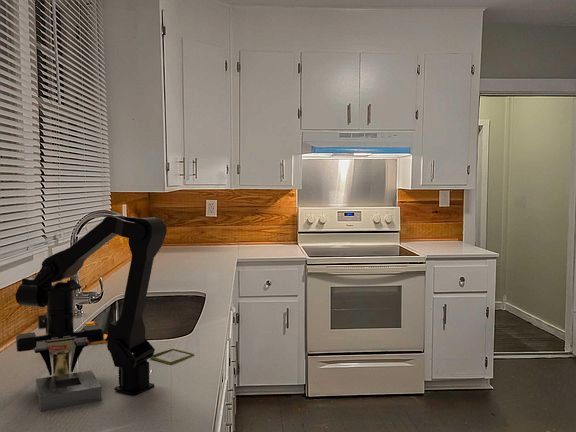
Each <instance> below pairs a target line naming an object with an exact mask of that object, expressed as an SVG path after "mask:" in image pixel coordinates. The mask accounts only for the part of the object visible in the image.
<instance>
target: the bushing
mask: <svg viewBox="0 0 576 432" xmlns="http://www.w3.org/2000/svg"><path fill="white" fill-rule="evenodd" d="M64 374H70V351H56V352H54V353H52V376H58V375H64Z"/></svg>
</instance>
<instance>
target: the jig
mask: <svg viewBox="0 0 576 432" xmlns="http://www.w3.org/2000/svg"><path fill="white" fill-rule="evenodd" d="M35 394H36V398H37V403H38V406H39V410H40V412H45V411H51V410H56V409H61V408H66V407H71V406H77V405H81V404H82V405H83V404H88V403H92V402H99V401H102V385H101V384H100V382H99V380H98V379H97V377H96V375H95V374H94V372H93V370H92V369H90V370H85V371H77V372H71V373H69V374H64V375H58V376H53V375H51V376H47V377H40V378H35Z"/></svg>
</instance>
